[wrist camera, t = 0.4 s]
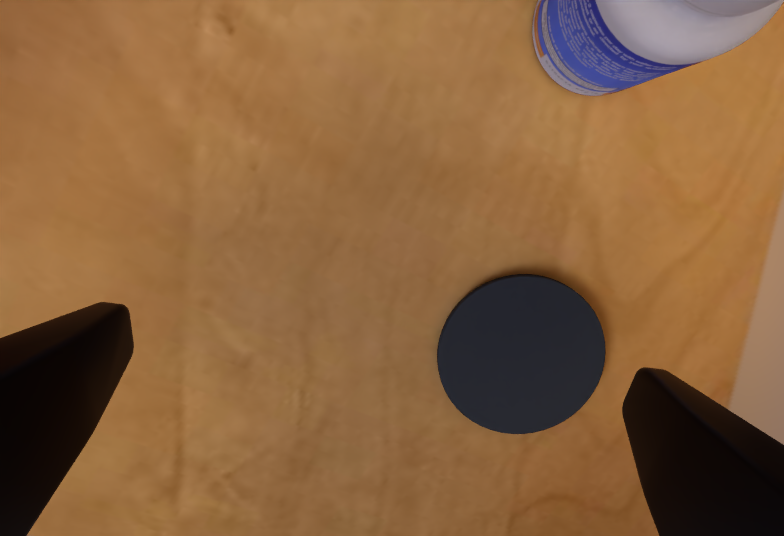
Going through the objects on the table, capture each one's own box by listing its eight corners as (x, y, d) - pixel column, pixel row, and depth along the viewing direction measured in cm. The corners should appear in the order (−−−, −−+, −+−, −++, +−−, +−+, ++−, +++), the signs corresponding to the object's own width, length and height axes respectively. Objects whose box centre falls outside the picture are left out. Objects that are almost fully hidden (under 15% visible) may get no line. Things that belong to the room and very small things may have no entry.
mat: (506, 459, 24) (508, 464, 24) (403, 347, 23) (403, 350, 22) (635, 361, 23) (638, 364, 23) (534, 239, 22) (536, 240, 22)
